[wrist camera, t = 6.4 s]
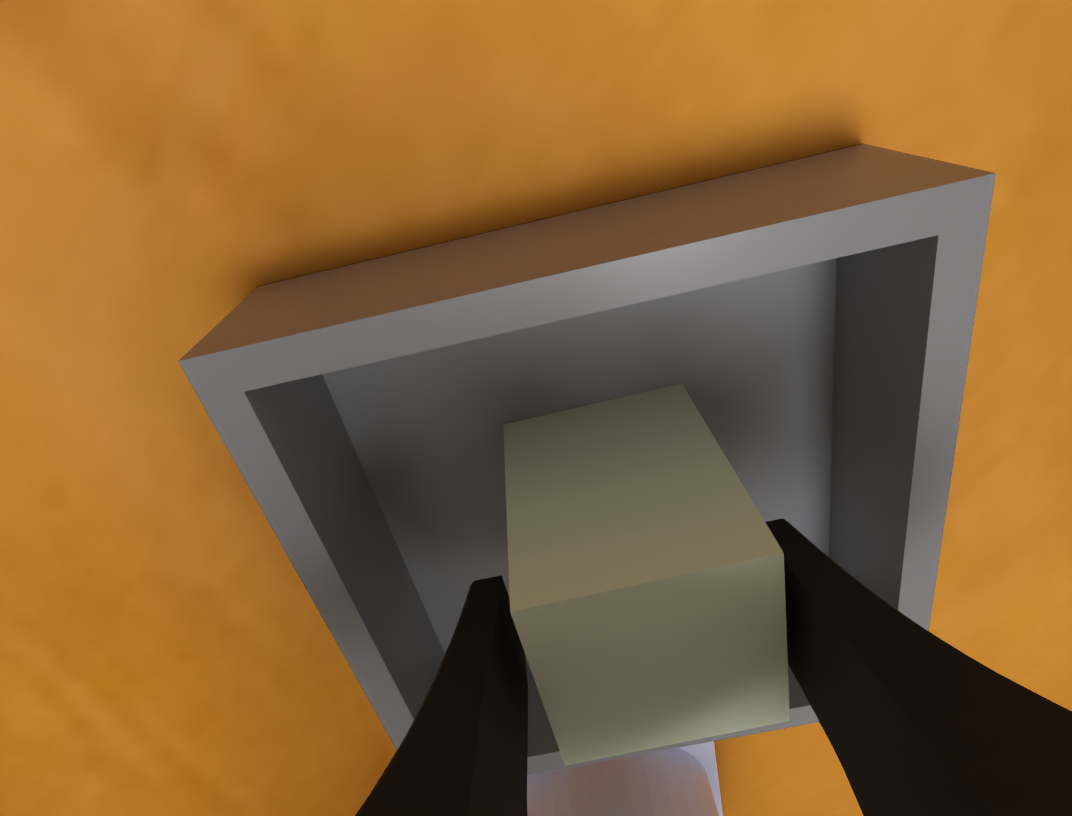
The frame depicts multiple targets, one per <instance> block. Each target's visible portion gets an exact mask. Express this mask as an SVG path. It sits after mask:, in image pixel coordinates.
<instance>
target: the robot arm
mask: <svg viewBox="0 0 1072 816" xmlns="http://www.w3.org/2000/svg"><path fill="white" fill-rule="evenodd" d="M765 523H766V524H767V526H768V528H769V529H770V531H771V533H772V534H773V536H774V538H775V539H776V541H777V543H778V544H779V546H780V548H781V549H782V551H783V553H784V573H785V601H786V628H787V656H788V664H789V666H790V668H791V670H792V672H793V674H794V676H795V678H796V679H797V681H798V683H799V685H800V687H801V689H802V690H803V692H804V694H805V696H806V698H807V700H808V702H809V703H810V705H811V707H812V709H813V711H814V713H815V714H816V716H817V718H818V720H819V722H820V724H821V726H822V727H823V729H824V731H825V733H826V735H827V737H828V738H829V740H830V742H831V744H832V746H833V748H834V750H835V752H836V754H837V756H838V758H839V760H840V762H841V764H842V766H843V769H844V771H845V773H846V776H847V778H848V780H849V782H850V785H851V787H852V789H853V792H854V794H855V796H856V799H857V801H858V803H859V806H860V808H861V810H862V813H863V815H864V816H1072V711H1070V710H1068V709H1066V708H1064V707H1062V706H1060V705H1058V704H1055V703H1053V702H1052V701H1050V700H1048V699H1046V698H1044V697H1042V696H1040V695H1038V694H1036V693H1034V692H1032V691H1031V690H1029V689H1027V688H1025V687H1023V686H1021V685H1019V684H1017V683H1015V682H1013V681H1011V680H1010V679H1008V678H1006V677H1004V676H1002V675H1000V674H998V673H996V672H995V671H993V670H991V669H989V668H988V667H986V666H984V665H982V664H981V663H979V662H977V661H976V660H974V659H972V658H970V657H969V656H967V655H965V654H964V653H962V652H961V651H959V650H957V649H956V648H954V647H952V646H951V645H949V644H948V643H946V642H944V641H943V640H941V639H940V638H938V637H936V636H935V635H933V634H932V633H930V632H929V631H927V630H926V629H924V628H923V627H921V626H920V625H918V624H917V623H915V622H914V621H912V620H911V619H910V618H908V617H907V616H905V615H904V614H902V613H901V612H900V611H898V610H897V609H895V608H894V607H892V606H891V605H890V604H888V603H887V602H886V601H884V600H883V599H882V598H880V597H879V596H877V595H876V594H875V593H873V592H872V591H871V590H870V589H868V588H867V587H866V586H864V585H863V584H862V583H861V582H859V581H858V580H857V579H855V578H854V577H853V576H852V575H850V574H849V573H848V572H846V571H845V570H844V569H843V568H842V567H840V566H839V565H838V564H837V563H835V562H834V561H833V560H832V559H831V558H829V557H828V556H827V555H826V554H825V553H823V552H822V551H821V550H820V549H819V548H818V547H816V546H815V545H814V544H813V543H812V542H811V541H809V540H808V539H807V538H806V537H805V536H804V535H803V534H801V533H800V532H799V531H798V530H797V529H796V528H795V527H794V526H792V525H791V524H790V523H789V522H788V521H786V520H785V519H783V518H782V519H777V520H772V521H767V522H765ZM527 753H528V681H527V670H526V660H525V652H524V649H523V647H522V644H521V641H520V638H519V635H518V632H517V630H516V627H515V624H514V621H513V618H512V616H511V613H510V598H509V595H508V592H507V589H506V586H505V583H504V580H503V577H502V575H500V576H495V577H490V578H485V579H480V580H475V581H473V583H472V584H471V585H470V588H469V591H468V594H467V597H466V600H465V603H464V606H463V609H462V612H461V615H460V618H459V620H458V623H457V626H456V628H455V631H454V633H453V636H452V639H451V641H450V643H449V646H448V648H447V651H446V653H445V655H444V658H443V660H442V662H441V665H440V667H439V670H438V672H437V674H436V676H435V678H434V680H433V682H432V685H431V687H430V689H429V691H428V693H427V695H426V697H425V699H424V701H423V703H422V705H421V707H420V709H419V711H418V713H417V715H416V717H415V719H414V721H413V723H412V725H411V726H410V728H409V730H408V732H407V734H406V736H405V737H404V739H403V741H402V743H401V744H400V746H399V748H398V750H397V751H396V753H395V755H394V756H393V758H392V760H391V761H390V763H389V765H388V766H387V768H386V769H385V771H384V773H383V774H382V776H381V777H380V779H379V780H378V782H377V784H376V785H375V787H374V788H373V790H372V791H371V793H370V795H369V796H368V798H367V799H366V801H365V802H364V804H363V805H362V806H361V808H360V809H359V811H358V812H357V814H356V815H355V816H723V810H722V802H721V794H720V786H719V778H718V770H717V762H716V754H715V746H714V741H712V742H706V743H701V744H695V745H690V746H684V747H679V748H673V749H668V750H662V751H657V752H651V753H646V754H640V755H635V756H629V757H624V758H618V759H613V760H607V761H602V762H596V763H591V764H585V765H580V766H574V767H569V768H563V769H558V770H552V771H547V772H541V773H536V774H530V775H527Z"/></svg>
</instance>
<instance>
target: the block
mask: <svg viewBox="0 0 1072 816" xmlns="http://www.w3.org/2000/svg"><path fill="white" fill-rule="evenodd" d="M503 429H504V457H505V485H506V512H507V540H508V568H509V595H510V613H511V616H512V618H513V621H514V624H515V627H516V630H517V632H518V635H519V638H520V641H521V644H522V647H523V649H524V652H525V655H526V658H527V661H528V663H529V666H530V669H531V672H532V675H533V677H534V680H535V683H536V686H537V689H538V691H539V694H540V697H541V700H542V703H543V705H544V708H545V711H546V714H547V717H548V719H549V722H550V725H551V728H552V731H553V733H554V736H555V739H556V742H557V745H558V747H559V750H560V753H561V756H562V759H563V761H564V764H565V766H567V765H572V764H577V763H582V762H587V761H592V760H597V759H602V758H607V757H612V756H617V755H622V754H627V753H632V752H637V751H642V750H647V749H652V748H657V747H662V746H667V745H672V744H677V743H682V742H687V741H692V740H697V739H702V738H707V737H712V736H717V735H722V734H727V733H732V732H737V731H742V730H748V729H753V728H758V727H763V726H768V725H773V724H778V723H783V722H788V721H790V712H789V684H788V656H787V628H786V601H785V573H784V553H783V551H782V549H781V548H780V546H779V544H778V543H777V541H776V539H775V538H774V536H773V534H772V533H771V531H770V529H769V528H768V526H767V524H766V523H765V521H764V519H763V518H762V516H761V514H760V513H759V511H758V509H757V508H756V506H755V504H754V503H753V501H752V499H751V498H750V496H749V494H748V493H747V491H746V489H745V488H744V486H743V484H742V483H741V481H740V479H739V478H738V476H737V474H736V473H735V471H734V469H733V468H732V466H731V464H730V463H729V461H728V459H727V458H726V456H725V454H724V453H723V451H722V449H721V448H720V446H719V444H718V443H717V441H716V439H715V438H714V436H713V434H712V433H711V431H710V429H709V428H708V426H707V424H706V423H705V421H704V419H703V418H702V416H701V414H700V413H699V411H698V409H697V408H696V406H695V404H694V403H693V401H692V399H691V398H690V396H689V394H688V393H687V391H686V389H685V388H684V386H683V384H682V383H681V384H677V385H672V386H668V387H663V388H659V389H655V390H650V391H646V392H642V393H637V394H633V395H629V396H624V397H620V398H616V399H611V400H607V401H603V402H599V403H594V404H590V405H586V406H581V407H577V408H573V409H568V410H564V411H560V412H555V413H551V414H547V415H542V416H538V417H534V418H529V419H525V420H521V421H516V422H512V423H508V424H503Z"/></svg>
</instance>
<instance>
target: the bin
mask: <svg viewBox="0 0 1072 816" xmlns="http://www.w3.org/2000/svg"><path fill="white" fill-rule="evenodd" d="M995 175H996V173H992V172H988V171H983V170H979V169H974V168H970V167H965V166H961V165H956V164H952V163H947V162H943V161H938V160H934V159H929V158H925V157H920V156H916V155H911V154H907V153H902V152H898V151H893V150H889V149H884V148H880V147H875V146H871V145H866V144H861V145H857V146H852V147H848V148H844V149H840V150H835V151H831V152H827V153H823V154H818V155H814V156H810V157H806V158H801V159H797V160H793V161H789V162H784V163H780V164H776V165H772V166H767V167H763V168H759V169H755V170H750V171H746V172H742V173H738V174H734V175H729V176H725V177H721V178H717V179H712V180H708V181H704V182H700V183H695V184H691V185H687V186H683V187H678V188H674V189H670V190H666V191H661V192H657V193H653V194H649V195H644V196H640V197H636V198H632V199H627V200H623V201H619V202H615V203H611V204H606V205H602V206H598V207H594V208H589V209H585V210H581V211H577V212H572V213H568V214H564V215H560V216H555V217H551V218H547V219H543V220H538V221H534V222H530V223H526V224H521V225H517V226H513V227H509V228H504V229H500V230H496V231H492V232H487V233H483V234H479V235H475V236H471V237H466V238H462V239H458V240H454V241H449V242H445V243H441V244H437V245H432V246H428V247H424V248H420V249H415V250H411V251H407V252H403V253H398V254H394V255H390V256H386V257H381V258H377V259H373V260H369V261H364V262H360V263H356V264H352V265H347V266H343V267H339V268H335V269H331V270H326V271H322V272H318V273H314V274H309V275H305V276H301V277H297V278H292V279H288V280H284V281H280V282H275V283H271V284H267V285H263V286H258V287H257V288H256V289H255V290H254V291H253V292H252V293H251V294H250V295H249V296H248V297H246V298H245V299H244V300H243V301H242V302H241V303H240V304H239V305H238V306H237V307H236V308H235V309H234V310H233V311H232V312H230V313H229V314H228V315H227V316H226V317H225V318H224V319H223V320H222V321H221V322H220V323H219V324H218V325H217V326H215V327H214V328H213V329H212V330H211V331H210V332H209V333H208V334H207V335H206V336H205V337H204V338H203V339H202V340H200V341H199V342H198V343H197V344H196V345H195V346H194V347H193V348H192V349H191V350H190V351H189V352H188V353H187V354H186V355H184V356H183V357H182V358H181V359H180V360H179V361H178V362H179V364H180V365H181V367H182V369H183V371H184V372H185V374H186V376H187V378H188V380H189V381H190V383H191V385H192V387H193V388H194V390H195V392H196V394H197V396H198V397H199V399H200V401H201V403H202V404H203V406H204V408H205V410H206V411H207V413H208V415H209V417H210V419H211V420H212V422H213V424H214V426H215V427H216V429H217V431H218V433H219V435H220V436H221V438H222V440H223V442H224V443H225V445H226V447H227V449H228V451H229V452H230V454H231V456H232V458H233V459H234V461H235V463H236V465H237V467H238V468H239V470H240V472H241V474H242V475H243V477H244V479H245V481H246V483H247V484H248V486H249V488H250V490H251V491H252V493H253V495H254V497H255V499H256V500H257V502H258V504H259V506H260V507H261V509H262V511H263V513H264V515H265V516H266V518H267V520H268V522H269V523H270V525H271V527H272V529H273V531H274V532H275V534H276V536H277V538H278V539H279V541H280V543H281V545H282V547H283V548H284V550H285V552H286V554H287V555H288V557H289V559H290V561H291V562H292V564H293V566H294V568H295V570H296V571H297V573H298V575H299V577H300V578H301V580H302V582H303V584H304V586H305V587H306V589H307V591H308V593H309V594H310V596H311V598H312V600H313V602H314V603H315V605H316V607H317V609H318V610H319V612H320V614H321V616H322V618H323V619H324V621H325V623H326V625H327V626H328V628H329V630H330V632H331V634H332V635H333V637H334V639H335V641H336V642H337V644H338V646H339V648H340V650H341V651H342V653H343V655H344V657H345V658H346V660H347V662H348V664H349V666H350V667H351V669H352V671H353V673H354V674H355V676H356V678H357V680H358V682H359V683H360V685H361V687H362V689H363V690H364V692H365V694H366V696H367V698H368V699H369V701H370V703H371V705H372V706H373V708H374V710H375V712H376V713H377V715H378V717H379V719H380V721H381V722H382V724H383V726H384V728H385V729H386V731H387V733H388V735H389V737H390V738H391V740H392V742H393V744H394V745H395V747H396V749H397V750H398V748H399V746H400V744H401V743H402V741H403V739H404V737H405V736H406V734H407V732H408V730H409V728H410V726H411V725H412V723H413V721H414V719H415V717H416V715H417V713H418V711H419V709H420V707H421V705H422V703H423V701H424V699H425V697H426V695H427V693H428V691H429V689H430V687H431V685H432V682H433V680H434V678H435V676H436V674H437V672H438V670H439V667H440V665H441V662H442V660H443V658H444V655H445V653H446V651H447V648H448V646H449V643H450V641H451V639H452V636H453V633H454V631H455V628H456V626H457V623H458V620H459V618H460V615H461V612H462V609H463V606H464V603H465V600H466V597H467V594H468V591H469V588H470V585H471V584H472V583H473V581H475V580H480V579H485V578H490V577H495V576H500V575H502V577H503V580H504V583H505V586H506V589H507V592H508V595H509V568H508V540H507V512H506V485H505V457H504V429H503V424H508V423H512V422H516V421H521V420H525V419H529V418H534V417H538V416H542V415H547V414H551V413H555V412H560V411H564V410H568V409H573V408H577V407H581V406H586V405H590V404H594V403H599V402H603V401H607V400H611V399H616V398H620V397H624V396H629V395H633V394H637V393H642V392H646V391H650V390H655V389H659V388H663V387H668V386H672V385H677V384H681V383H682V384H683V386H684V388H685V389H686V391H687V393H688V394H689V396H690V398H691V399H692V401H693V403H694V404H695V406H696V408H697V409H698V411H699V413H700V414H701V416H702V418H703V419H704V421H705V423H706V424H707V426H708V428H709V429H710V431H711V433H712V434H713V436H714V438H715V439H716V441H717V443H718V444H719V446H720V448H721V449H722V451H723V453H724V454H725V456H726V458H727V459H728V461H729V463H730V464H731V466H732V468H733V469H734V471H735V473H736V474H737V476H738V478H739V479H740V481H741V483H742V484H743V486H744V488H745V489H746V491H747V493H748V494H749V496H750V498H751V499H752V501H753V503H754V504H755V506H756V508H757V509H758V511H759V513H760V514H761V516H762V518H763V519H764V521H765V522H767V521H772V520H777V519H782V518H783V519H785V520H786V521H788V522H789V523H790V524H791V525H792V526H794V527H795V528H796V529H797V530H798V531H799V532H800V533H801V534H803V535H804V536H805V537H806V538H807V539H808V540H809V541H811V542H812V543H813V544H814V545H815V546H816V547H818V548H819V549H820V550H821V551H822V552H823V553H825V554H826V555H827V556H828V557H829V558H831V559H832V560H833V561H834V562H835V563H837V564H838V565H839V566H840V567H842V568H843V569H844V570H845V571H846V572H848V573H849V574H850V575H852V576H853V577H854V578H855V579H857V580H858V581H859V582H861V583H862V584H863V585H864V586H866V587H867V588H868V589H870V590H871V591H872V592H873V593H875V594H876V595H877V596H879V597H880V598H882V599H883V600H884V601H886V602H887V603H888V604H890V605H891V606H892V607H894V608H895V609H897V610H898V611H900V612H901V613H902V614H904V615H905V616H907V617H908V618H910V619H911V620H912V621H914V622H915V623H917V624H918V625H920V626H921V627H923V628H924V629H926V630H927V631H929V625H930V618H931V611H932V604H933V597H934V590H935V584H936V577H937V570H938V563H939V556H940V550H941V543H942V536H943V529H944V522H945V515H946V509H947V502H948V495H949V488H950V481H951V475H952V468H953V461H954V454H955V447H956V440H957V434H958V427H959V420H960V413H961V406H962V400H963V393H964V386H965V379H966V372H967V365H968V359H969V352H970V345H971V338H972V331H973V325H974V318H975V311H976V304H977V297H978V290H979V284H980V277H981V270H982V263H983V256H984V250H985V243H986V236H987V229H988V222H989V215H990V209H991V202H992V195H993V188H994V181H995ZM509 598H510V595H509ZM525 660H526V670H527V681H528V753H527V775H530V774H536V773H541V772H547V771H552V770H558V769H563V768H569V767H574V766H580V765H585V764H591V763H596V762H602V761H607V760H613V759H618V758H624V757H629V756H635V755H640V754H646V753H651V752H657V751H662V750H668V749H673V748H679V747H684V746H690V745H695V744H701V743H706V742H712V741H717V740H723V739H728V738H734V737H739V736H745V735H750V734H756V733H761V732H767V731H772V730H778V729H783V728H789V727H794V726H800V725H805V724H811V723H816V722H819V720H818V718H817V716H816V714H815V713H814V711H813V709H812V707H811V705H810V703H809V702H808V700H807V698H806V696H805V694H804V692H803V690H802V689H801V687H800V685H799V683H798V681H797V679H796V678H795V676H794V674H793V672H792V670H791V668H790V666H789V664H788V684H789V712H790V721H788V722H783V723H778V724H773V725H768V726H763V727H758V728H753V729H748V730H742V731H737V732H732V733H727V734H722V735H717V736H712V737H707V738H702V739H697V740H692V741H687V742H682V743H677V744H672V745H667V746H662V747H657V748H652V749H647V750H642V751H637V752H632V753H627V754H622V755H617V756H612V757H607V758H602V759H597V760H592V761H587V762H582V763H577V764H572V765H567V766H565V764H564V761H563V759H562V756H561V753H560V750H559V747H558V745H557V742H556V739H555V736H554V733H553V731H552V728H551V725H550V722H549V719H548V717H547V714H546V711H545V708H544V705H543V703H542V700H541V697H540V694H539V691H538V689H537V686H536V683H535V680H534V677H533V675H532V672H531V669H530V666H529V663H528V661H527V658H526V655H525Z"/></svg>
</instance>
